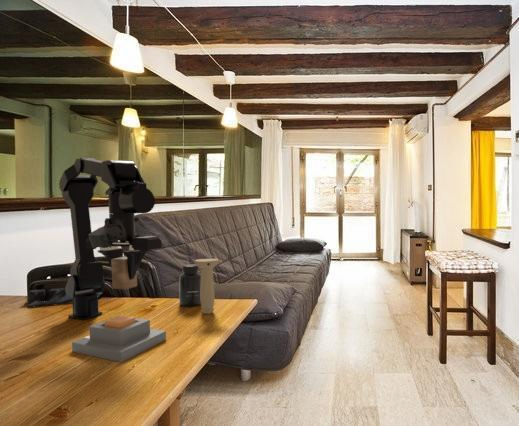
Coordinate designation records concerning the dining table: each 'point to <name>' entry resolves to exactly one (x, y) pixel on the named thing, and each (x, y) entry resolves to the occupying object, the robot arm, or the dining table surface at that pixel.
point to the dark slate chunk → (49, 297)
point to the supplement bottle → (189, 286)
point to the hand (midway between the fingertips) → (124, 278)
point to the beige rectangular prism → (121, 274)
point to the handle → (207, 284)
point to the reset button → (119, 321)
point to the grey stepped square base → (119, 340)
